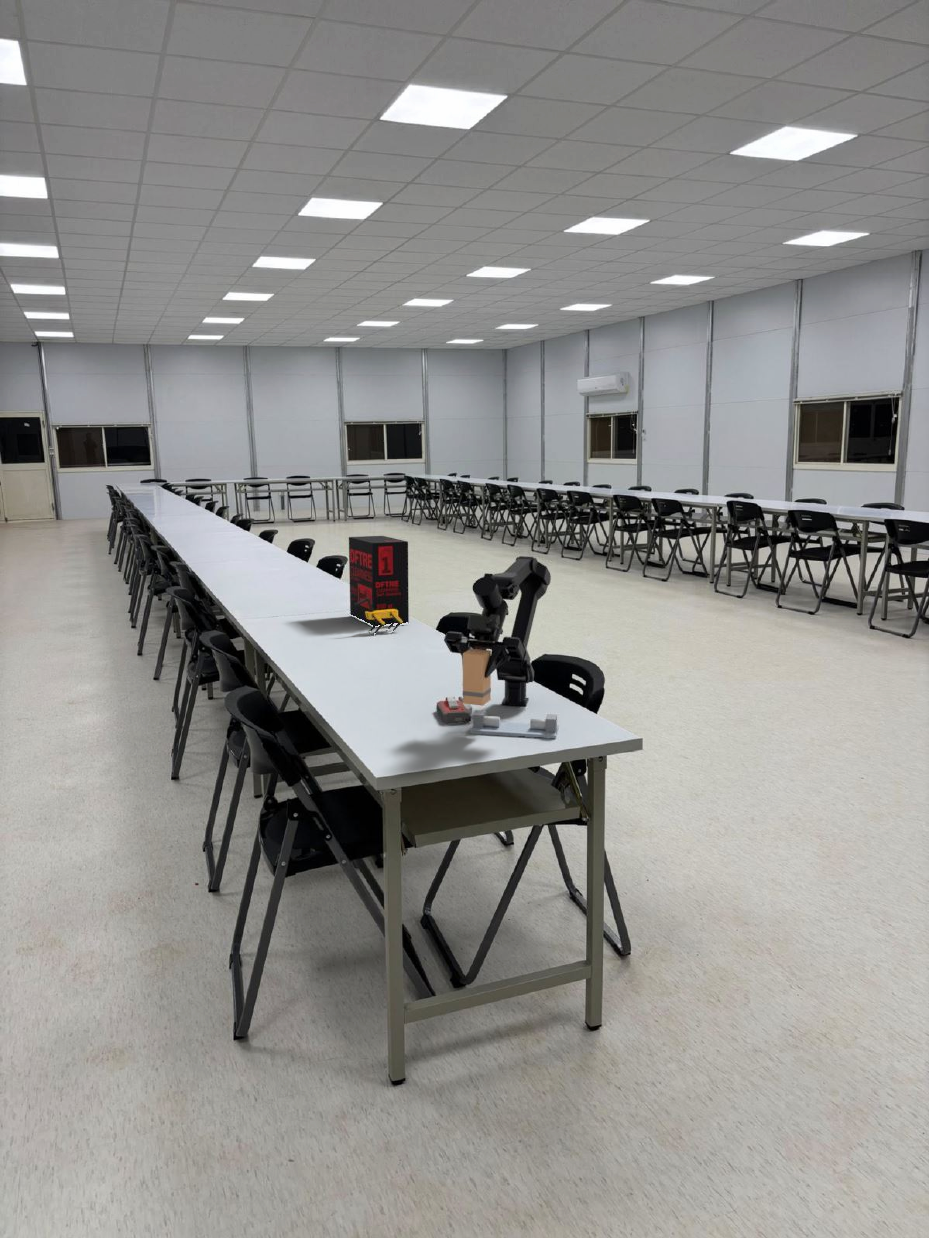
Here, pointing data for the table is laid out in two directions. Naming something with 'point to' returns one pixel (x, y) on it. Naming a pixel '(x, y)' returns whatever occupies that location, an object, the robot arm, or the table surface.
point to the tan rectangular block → (476, 677)
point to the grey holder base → (514, 726)
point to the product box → (378, 576)
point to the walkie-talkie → (454, 711)
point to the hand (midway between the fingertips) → (474, 675)
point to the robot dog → (380, 615)
